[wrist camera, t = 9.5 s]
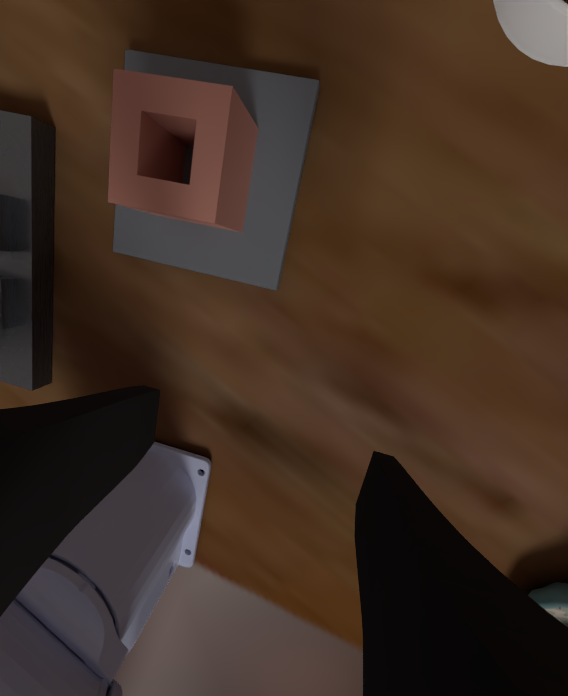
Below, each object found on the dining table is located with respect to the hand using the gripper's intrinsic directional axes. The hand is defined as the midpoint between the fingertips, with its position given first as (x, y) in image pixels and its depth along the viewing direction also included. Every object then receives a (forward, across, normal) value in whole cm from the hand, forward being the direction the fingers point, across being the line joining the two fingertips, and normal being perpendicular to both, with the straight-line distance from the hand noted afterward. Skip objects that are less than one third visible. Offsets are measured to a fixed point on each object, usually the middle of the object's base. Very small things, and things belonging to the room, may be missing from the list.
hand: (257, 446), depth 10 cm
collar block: (+9, +7, -9) cm, 14 cm away
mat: (+9, +7, -9) cm, 15 cm away
